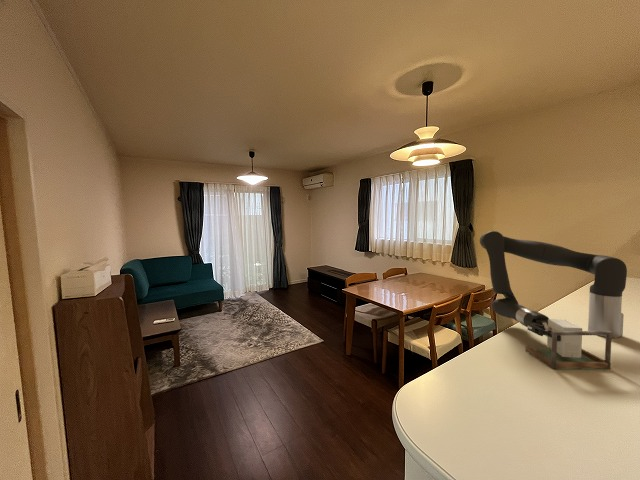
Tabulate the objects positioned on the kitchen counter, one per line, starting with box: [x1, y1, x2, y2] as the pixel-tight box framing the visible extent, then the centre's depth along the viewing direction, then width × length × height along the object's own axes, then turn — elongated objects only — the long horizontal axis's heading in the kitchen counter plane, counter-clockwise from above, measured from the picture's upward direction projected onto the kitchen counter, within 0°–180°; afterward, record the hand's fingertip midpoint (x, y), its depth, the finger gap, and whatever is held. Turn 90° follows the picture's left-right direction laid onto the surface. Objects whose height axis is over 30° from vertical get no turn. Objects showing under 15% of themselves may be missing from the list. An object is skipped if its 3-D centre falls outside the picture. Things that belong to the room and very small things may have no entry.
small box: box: [546, 318, 583, 358], centre depth 90 cm, size 8×6×10 cm
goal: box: [525, 330, 613, 370], centre depth 90 cm, size 18×12×12 cm, turn 87°
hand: (570, 338), depth 88 cm, fingers closed on small box, 6 cm apart
